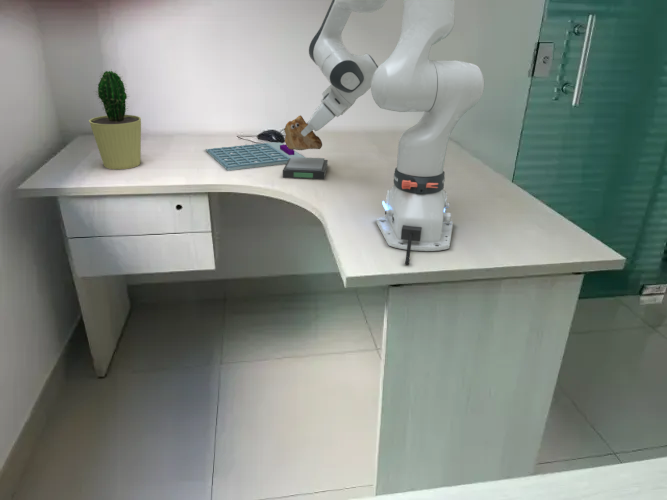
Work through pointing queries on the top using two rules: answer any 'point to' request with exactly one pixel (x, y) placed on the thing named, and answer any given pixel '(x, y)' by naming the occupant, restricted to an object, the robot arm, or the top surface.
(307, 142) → the decorative rock
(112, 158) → the potted cactus
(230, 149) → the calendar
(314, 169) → the scale
